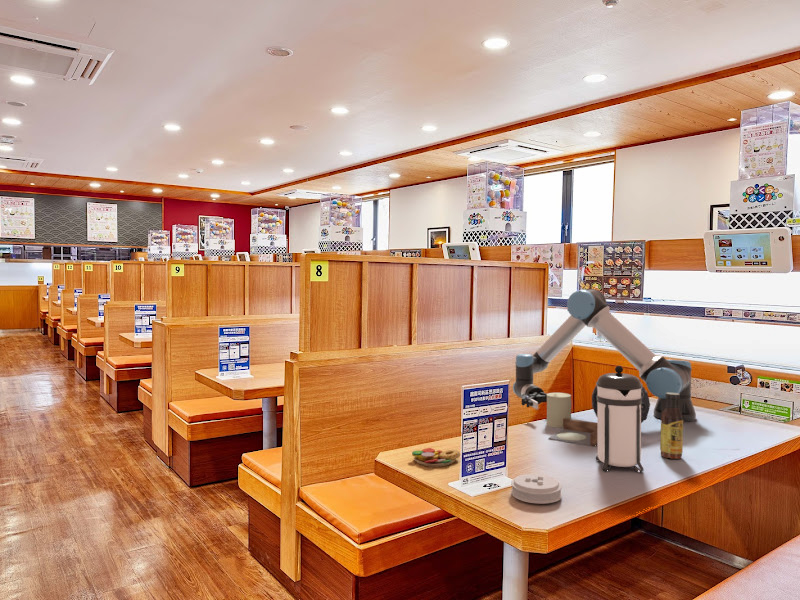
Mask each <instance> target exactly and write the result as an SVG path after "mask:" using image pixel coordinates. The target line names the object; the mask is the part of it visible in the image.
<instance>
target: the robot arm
mask: <svg viewBox="0 0 800 600" xmlns="http://www.w3.org/2000/svg"><path fill="white" fill-rule="evenodd" d="M566 308H567V311H568V313H569V317H568V318H566V319H565V321H564V322H563V323H562V324H561V325H560V326H559V327H558V328H557V329H556V330H555V331H554V333H552V335H551V336H550V337H549V338H547V340H546V341H545V342H544V343H543V344H542V345H541V346H540V347H539V348H538V350H537V351H535V352H534V354H533V355H532V354H531V353H530V354H529V353H519V354H517V355H515V356H516V357H515V363H514V364H515V382H514V383H513V386H512V391H513V393H514V394H515V395H516V396H517V397H518V398H520V399H521V406H525V408H530V407H532V408H533V409H535V410H539V405H540V404H542V403H547V394H548V392H547V393H546V392H545V391H544V390H543V389H542V388H541V387H539V386H537V385H535V384H534V374H536V373H541V372H543V371H544V370H546V369H547V368H548V367H549V364H550V363H551V361H552V360H554V359H555V357H556V356H558V354H559V353H560V352H561V351H562V350H563V349H564V348H565V347H567V345H568V344H569V343H570V342H571V341H572V340H573V339H574V338H575V337H576V336H577V335H578V334H579V333H580V332H581V331H582V330H583V329H584V328H585V327H587V328H594V329H595V330H596V331H597V332H598V333H599V334H600V335H601V336H602V337H603V338H604V339H605V340H606V341H607V342H608V343H609V344H611V346H613V348H615V350H617V351H618V352H619V353H620V354H621V355H622V356H623V357H624V358H625V359H626V360H627V361H628V362H629V363H630V364H631V365H633V367H634V368H635V369H636V370H638V371H639V373H638V374H639V379H641V380H642V381H643V382H644V383H645V384H646V387H647V390H648V391H649V392H650V393H651V394H652V395H653V396H655V397H657V401H656V402H655V406H654V408H653V416H654V417H655V418H657V419H659V418H660V420H661V419H662V413H663V411H664V410H665V408H666V393H678V394H680V399H679V409H680V412H681V415H682V418H683V423H685V422H693V421H696V419H697V412H696V410H695V408H694V404H693V401H692V370H693V369H692V363H691V362H690V361H689V360H679V359H666V358H665V357H664V355H663V356H662V355H656V354H655V353H654V352H653V351H652V350H651V349H650V348H649V347H647V346H646V345H645V344H644V343H643V342H642V341H641V340H640V339H638V337H637V336H635V334H634V333H632V331H630V330H629V329H628V328H627V327H626V326H625V325H624V324H622V322H621V321H620V320H618V318H616V317H615V316H614V315H613V314H612V313H611V312H610V310H611V309H610V306H609V305H608V304H607V299H606V296H605V295H604V293H602V292H601V291H599V290H597V289H594V288H589V289H579V290H576V291H574V292H572V293H571V295H570V296H569V297H568V299H567V302H566Z"/></svg>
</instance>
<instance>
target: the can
mask: <svg viewBox="0 0 800 600" xmlns="http://www.w3.org/2000/svg"><path fill="white" fill-rule="evenodd" d="M564 418H566V419H572V394H570V393H566V392H547V402H546V425H547V427H551V428H557V429H558V428H561V429H563V419H564Z"/></svg>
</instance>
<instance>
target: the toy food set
mask: <svg viewBox="0 0 800 600" xmlns="http://www.w3.org/2000/svg"><path fill="white" fill-rule="evenodd" d="M411 453H412V455H411V456H413V457H414V458H413V460H414V461H415V462H416V463H418V465H421V466H425V467H433V468H438V467H439V468H441V467H446V466H449V465H452V464H453V463H454V462H455V461H456V460H457V459H458V458H460V457H461V452H460V451H459V450H458V449H447V450H445V451H442V450H439V449H438V450H435V448H432V447H428V448H424V449H422V450H414V451H412V452H411Z"/></svg>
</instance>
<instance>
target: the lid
mask: <svg viewBox="0 0 800 600" xmlns="http://www.w3.org/2000/svg"><path fill="white" fill-rule="evenodd" d="M510 484H511V488H512V489H511V491H510V492H511V495H512V496H513V498H515V499H517V500H519V501H522V502H526V503H530V504H538V505H539V504H540V505H541V504H553V503H555V502H558V501H560V500H562V498H563V495H562V492H561V491H562V487H563V485H562V483H561V482H560V481H558V480H557V479H556V478H554V477H553V476H550V475H546V474H540V473H525V474H520V475H517V476H516V477H515V478H513V479H512V480H511V483H510Z"/></svg>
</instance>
